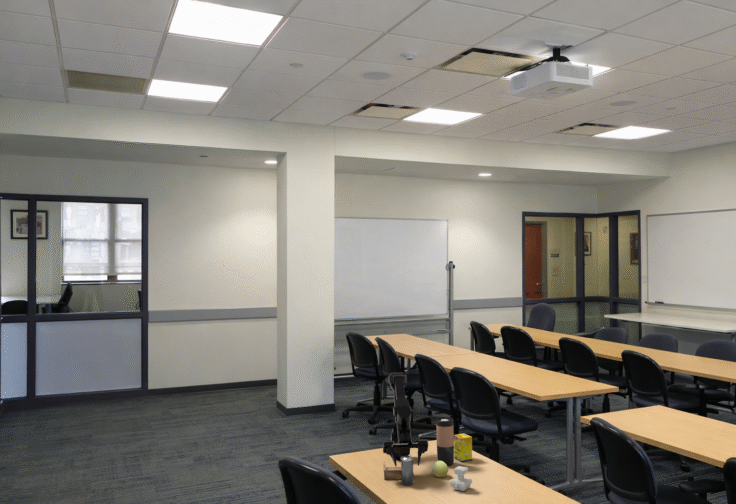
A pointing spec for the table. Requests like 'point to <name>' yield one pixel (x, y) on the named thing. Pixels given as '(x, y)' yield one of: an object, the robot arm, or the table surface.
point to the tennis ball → (440, 469)
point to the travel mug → (445, 440)
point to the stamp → (460, 479)
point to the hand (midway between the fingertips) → (407, 465)
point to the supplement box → (463, 447)
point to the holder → (391, 472)
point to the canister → (407, 470)
